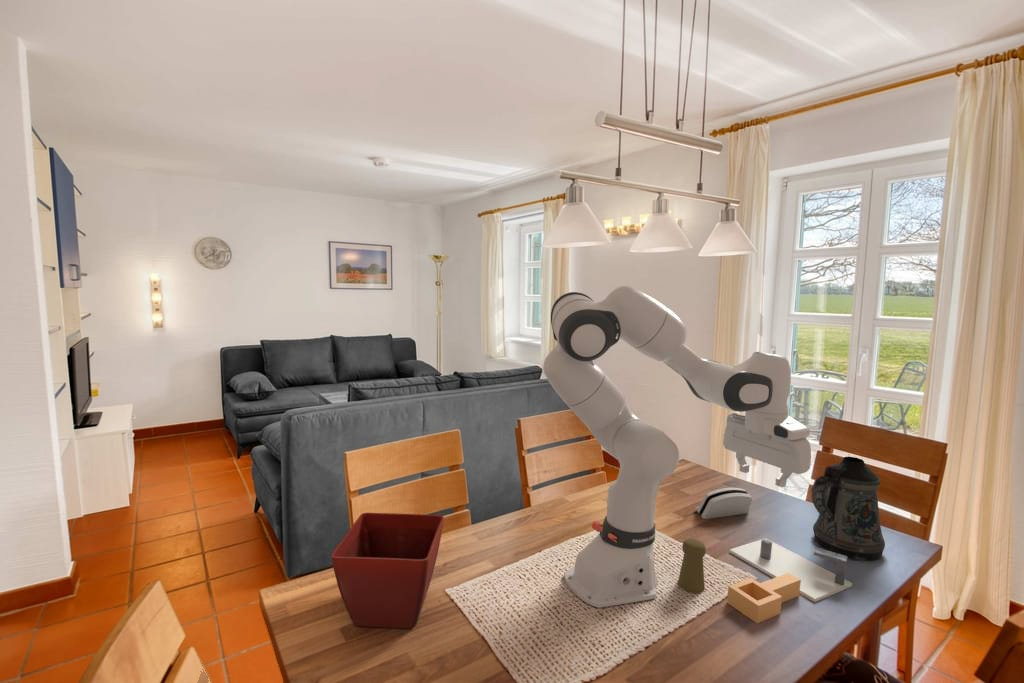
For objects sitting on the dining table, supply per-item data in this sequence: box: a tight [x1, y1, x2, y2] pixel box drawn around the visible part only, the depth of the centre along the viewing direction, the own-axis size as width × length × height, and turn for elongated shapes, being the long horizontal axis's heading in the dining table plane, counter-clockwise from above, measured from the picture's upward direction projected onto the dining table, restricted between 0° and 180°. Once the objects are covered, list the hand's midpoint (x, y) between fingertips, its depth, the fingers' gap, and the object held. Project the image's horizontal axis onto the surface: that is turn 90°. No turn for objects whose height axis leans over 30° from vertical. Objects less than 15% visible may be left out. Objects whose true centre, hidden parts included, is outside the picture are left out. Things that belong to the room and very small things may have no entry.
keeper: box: [813, 546, 848, 586], centre depth 120 cm, size 7×3×7 cm, turn 52°
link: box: [726, 573, 801, 624], centre depth 112 cm, size 18×8×4 cm, turn 117°
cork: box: [677, 538, 707, 594], centre depth 117 cm, size 6×6×11 cm
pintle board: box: [729, 538, 853, 603], centre depth 125 cm, size 14×23×5 cm, turn 27°
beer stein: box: [810, 456, 886, 562], centre depth 135 cm, size 16×19×25 cm
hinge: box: [693, 487, 753, 520], centre depth 154 cm, size 17×5×10 cm, turn 106°
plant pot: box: [331, 512, 445, 629], centre depth 105 cm, size 19×19×17 cm
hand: (761, 478), depth 117 cm, fingers open, 8 cm apart
